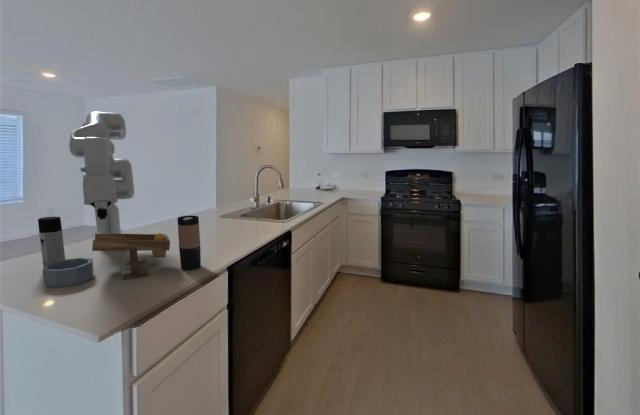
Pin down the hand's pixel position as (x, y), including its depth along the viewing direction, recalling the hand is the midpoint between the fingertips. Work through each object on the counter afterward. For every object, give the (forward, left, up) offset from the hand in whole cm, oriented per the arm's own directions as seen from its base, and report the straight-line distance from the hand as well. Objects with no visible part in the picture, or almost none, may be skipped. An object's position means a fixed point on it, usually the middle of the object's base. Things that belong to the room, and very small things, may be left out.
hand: (102, 218), depth 124 cm
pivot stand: (+10, +9, -19) cm, 24 cm away
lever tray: (+6, +8, -13) cm, 17 cm away
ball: (+10, +18, -8) cm, 22 cm away
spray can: (-7, -17, -19) cm, 27 cm away
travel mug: (+17, +28, -19) cm, 38 cm away
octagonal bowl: (+10, -10, -19) cm, 24 cm away
